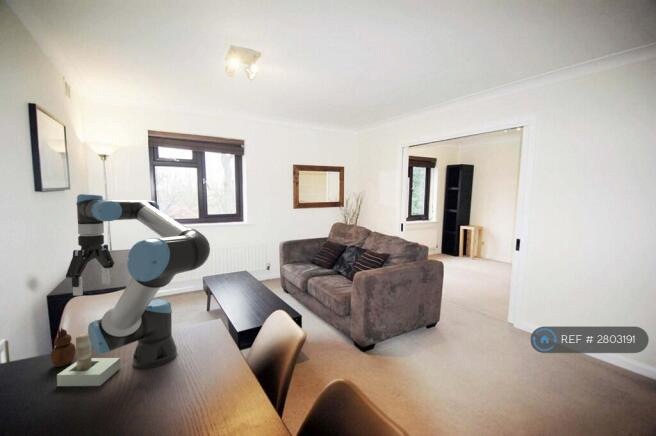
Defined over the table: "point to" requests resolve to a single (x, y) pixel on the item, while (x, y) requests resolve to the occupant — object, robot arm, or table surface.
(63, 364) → the wooden figurine
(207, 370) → the table surface
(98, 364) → the socket block
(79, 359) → the dowel
